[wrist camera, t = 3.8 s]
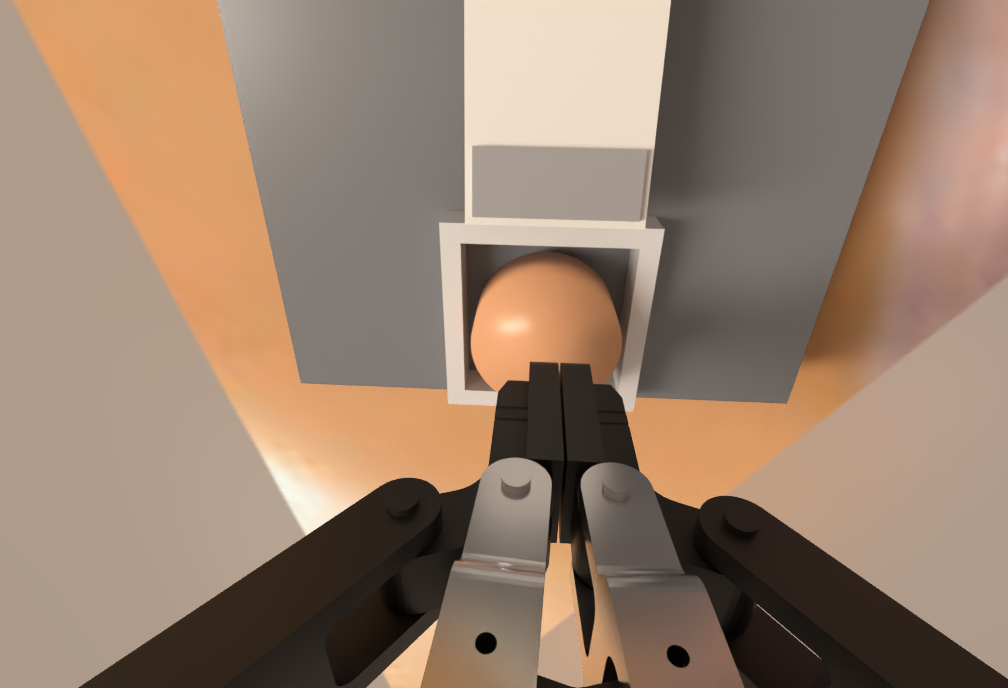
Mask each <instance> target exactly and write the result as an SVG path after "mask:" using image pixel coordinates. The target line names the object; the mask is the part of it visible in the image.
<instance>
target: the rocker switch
mask: <svg viewBox="0 0 1008 688" xmlns="http://www.w3.org/2000/svg"><path fill="white" fill-rule="evenodd" d="M670 6H671V0H464V105H465V224H470V225H505V226H540V227H574V228H609V229H644V230H645V226H646V217H647V208H648V199H649V191H650V182H651V173H652V164H653V155H654V147H655V138H656V129H657V120H658V111H659V103H660V94H661V85H662V76H663V67H664V58H665V50H666V41H667V32H668V23H669V14H670Z"/></svg>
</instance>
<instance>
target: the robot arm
mask: <svg viewBox="0 0 1008 688" xmlns="http://www.w3.org/2000/svg"><path fill="white" fill-rule="evenodd" d="M558 522H559V538H560V543H571V551H572V562H571V571H570V582H571V589H572V596H573V603H574V610H575V617H576V625H577V632H578V638H579V646H580V653H581V660H582V669H583V687H581V688H1008V679H1007V678H1005V677H1004V676H1003V675H1001V674H1000V673H998V672H997V671H995V670H994V669H993V668H991V667H990V666H988V665H987V664H985V663H984V662H982V661H981V660H979V659H978V658H977V657H975V656H974V655H972V654H971V653H970V652H968V651H967V650H965V649H964V648H962V647H961V646H959V645H958V644H957V643H955V642H954V641H952V640H951V639H949V638H948V637H947V636H945V635H944V634H942V633H941V632H939V631H938V630H936V629H935V628H934V627H932V626H931V625H929V624H928V623H926V622H925V621H924V620H922V619H920V618H919V617H918V616H916V615H915V614H913V613H912V612H910V611H909V610H908V609H906V608H905V607H903V606H902V605H900V604H899V603H897V602H896V601H895V600H893V599H892V598H890V597H889V596H887V595H886V594H885V593H883V592H882V591H880V590H879V589H877V588H876V587H875V586H873V585H872V584H870V583H869V582H867V581H866V580H865V579H863V578H862V577H860V576H859V575H857V574H856V573H854V572H853V571H852V570H850V569H849V568H847V567H846V566H844V565H843V564H842V563H840V562H839V561H837V560H836V559H834V558H833V557H832V556H830V555H828V554H827V553H826V552H824V551H823V550H821V549H820V548H819V547H817V546H816V545H814V544H813V543H811V542H810V541H809V540H807V539H806V538H804V537H803V536H801V535H800V534H799V533H797V532H796V531H794V530H793V529H791V528H790V527H788V526H787V525H786V524H784V523H783V522H781V521H780V520H778V519H777V518H775V517H774V516H772V515H771V514H770V513H768V512H767V511H765V510H764V509H763V508H761V507H759V506H758V505H756V504H754V503H752V502H750V501H748V500H745V499H742V498H738V497H733V496H718V497H714V498H711V499H709V500H707V501H706V502H705V503H704V504H703V505H702V506H701V508H700V509H697V508H694V507H691V506H688V505H684V504H681V503H678V502H675V501H672V500H669V499H667V498H665V497H663V496H662V495H660V494H658V493H657V492H655V491H654V489H653V487H652V485H651V483H650V481H649V480H648V479H647V478H646V477H645V476H644V475H643V474H642V473H641V472H640V471H639V467H638V462H637V458H636V454H635V450H634V445H633V441H632V437H631V433H630V428H629V427H628V420H627V416H626V414H625V407H624V403H623V399H622V397H621V396H620V394H619V393H618V392H617V391H616V390H615V389H614V388H613V387H612V386H611V385H609V384H593V379H592V373H591V367H590V364H582V363H560V370H559V364H558V363H555V362H532V361H530V366H529V381H515V380H508V381H507V382H506V383H505V384H504V385H503V387H502V388H501V389H500V390H499V391H498V396H497V404H496V412H495V420H494V428H493V436H492V444H491V452H490V460H489V465H488V468H487V469H486V470H485V471H484V472H483V474H482V477H481V478H480V479H479V480H478V481H477V482H475V483H474V484H472V485H470V486H468V487H466V488H463V489H460V490H456V491H451V492H446V493H441V494H439V492H438V491H437V489H436V488H435V487H434V486H433V485H432V484H430V483H428V482H427V481H424V480H421V479H417V478H401V479H396V480H393V481H390V482H387V483H385V484H384V485H382V486H380V487H379V488H377V489H376V490H374V491H373V492H371V493H370V494H368V495H367V496H365V497H364V498H362V499H361V500H359V501H358V502H356V503H355V504H353V505H352V506H350V507H349V508H347V509H346V510H344V511H343V512H341V513H340V514H338V515H337V516H335V517H334V518H332V519H331V520H329V521H328V522H326V523H325V524H323V525H322V526H320V527H319V528H317V529H316V530H314V531H313V532H311V533H310V534H308V535H307V536H305V537H304V538H302V539H301V540H300V541H298V542H296V543H295V544H293V545H292V546H290V547H289V548H287V549H286V550H284V551H283V552H281V553H280V554H278V555H277V556H275V557H274V558H272V559H271V560H269V561H268V562H266V563H265V564H263V565H262V566H260V567H259V568H257V569H256V570H254V571H253V572H251V573H250V574H248V575H247V576H245V577H244V578H242V579H241V580H239V581H238V582H236V583H235V584H233V585H232V586H230V587H229V588H227V589H226V590H224V591H223V592H221V593H220V594H218V595H217V596H215V597H214V598H212V599H211V600H209V601H208V602H206V603H205V604H203V605H202V606H200V607H199V608H197V609H196V610H194V611H193V612H191V613H190V614H188V615H187V616H185V617H184V618H182V619H181V620H179V621H178V622H176V623H175V624H173V625H172V626H170V627H169V628H167V629H166V630H164V631H163V632H161V633H160V634H158V635H157V636H155V637H154V638H152V639H151V640H149V641H148V642H146V643H145V644H143V645H142V646H140V647H139V648H137V649H136V650H134V651H133V652H131V653H130V654H128V655H127V656H125V657H124V658H122V659H121V660H119V661H118V662H116V663H115V664H113V665H112V666H110V667H109V668H107V669H106V670H104V671H103V672H101V673H100V674H98V675H97V676H95V677H94V678H92V679H91V680H89V681H88V682H86V683H85V684H83V685H82V686H80V687H79V688H366V687H367V686H368V685H369V684H370V683H371V682H372V681H373V680H375V678H377V677H378V675H380V674H381V673H382V672H383V671H384V670H385V669H386V668H387V667H388V666H389V665H390V664H391V663H392V662H393V661H394V660H395V659H396V658H397V657H399V656H400V655H401V654H402V653H403V652H404V651H405V650H406V649H407V648H408V647H409V646H410V645H411V644H412V643H413V642H414V641H415V640H416V639H417V638H418V637H419V636H420V635H421V634H423V633H424V632H425V631H426V630H427V629H428V628H429V627H430V626H431V625H432V624H433V623H434V622H435V621H436V620H437V619H438V622H437V626H436V630H435V634H434V637H433V641H432V645H431V649H430V653H429V657H428V661H427V664H426V668H425V672H424V676H423V680H422V684H421V688H575V687H571V686H567V685H565V684H562V683H559V682H556V681H553V680H550V679H547V678H545V677H542V676H539V675H537V673H538V672H537V671H538V660H539V647H540V634H541V620H542V607H543V594H544V581H545V572H546V570H547V568H548V565H549V555H550V543H557V532H558ZM757 604H758V605H759V606H760V607H762V608H763V609H764V610H765V611H766V612H767V613H769V614H770V615H771V616H772V617H773V618H775V619H776V620H777V621H778V622H779V623H780V624H782V625H783V626H784V627H785V628H786V629H787V630H789V631H790V632H791V633H792V634H793V635H795V636H796V637H797V638H798V639H799V640H800V641H802V642H803V643H804V644H805V645H807V646H808V647H809V648H810V649H811V650H813V652H815V653H816V654H817V655H818V656H819V657H820V658H821V659H820V658H818V657H817V656H816V655H815V654H813V652H811V651H810V650H809V649H808V648H807V647H805V646H804V645H803V644H802V643H801V642H799V641H798V640H797V639H796V638H795V637H794V636H793V635H791V634H790V633H789V632H788V631H786V630H785V629H784V628H783V627H782V626H781V625H780V624H778V623H777V622H776V621H775V620H774V619H772V618H771V617H770V616H769V615H768V614H767V613H765V612H764V611H763V610H762V609H761V608H760V607H758V606H757Z"/></svg>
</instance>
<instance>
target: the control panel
mask: <svg viewBox="0 0 1008 688" xmlns="http://www.w3.org/2000/svg"><path fill="white" fill-rule="evenodd" d="M929 1H930V0H671V6H670V14H669V23H668V32H667V41H666V50H665V58H664V67H663V76H662V85H661V94H660V103H659V111H658V120H657V129H656V138H655V147H654V155H653V164H652V173H651V182H650V191H649V199H648V208H647V217H646V226H645V230H644V229H609V228H574V227H540V226H505V225H470V224H465V105H464V0H217V4H218V8H219V13H220V17H221V22H222V26H223V31H224V35H225V40H226V45H227V49H228V54H229V58H230V63H231V67H232V72H233V76H234V81H235V85H236V90H237V94H238V99H239V104H240V108H241V113H242V117H243V122H244V126H245V131H246V135H247V140H248V144H249V149H250V153H251V158H252V162H253V167H254V172H255V176H256V181H257V185H258V190H259V194H260V199H261V203H262V208H263V212H264V217H265V221H266V226H267V230H268V235H269V240H270V244H271V249H272V253H273V258H274V262H275V267H276V271H277V276H278V280H279V285H280V289H281V294H282V299H283V303H284V308H285V312H286V317H287V321H288V326H289V330H290V335H291V339H292V344H293V348H294V353H295V357H296V362H297V367H298V371H299V376H300V380H301V383H310V384H333V385H357V386H381V387H405V388H429V389H447V391H448V404H466V405H489V406H496V404H497V396H498V393H497V392H496V391H495V390H494V389H492V388H491V387H490V386H489V385H488V384H487V383H486V382H485V380H484V379H483V378H482V376H481V375H480V373H479V372H478V370H477V368H476V365H475V363H474V361H473V357H472V353H471V334H472V329H473V324H474V320H475V316H476V311H477V307H478V303H479V298H480V296H481V293H482V290H483V288H484V286H485V285H486V283H487V281H488V280H489V279H490V277H491V276H492V275H493V274H494V273H495V272H496V271H497V270H498V269H499V268H501V267H502V266H503V265H504V264H506V263H508V262H509V261H511V260H513V259H515V258H518V257H520V256H523V255H526V254H530V253H536V252H556V253H562V254H566V255H569V256H572V257H575V258H577V259H579V260H581V261H583V262H584V263H586V264H587V265H589V266H590V267H591V268H592V269H594V270H595V271H596V272H597V273H598V274H599V276H600V277H601V278H602V279H603V281H604V283H605V284H606V286H607V288H608V290H609V293H610V295H611V299H612V302H613V305H614V308H615V312H616V315H617V318H618V321H619V325H620V329H621V334H622V350H621V354H620V359H619V361H618V364H617V366H616V368H615V370H614V372H613V374H612V375H611V376H610V378H609V379H608V380H607V382H606V383H605V384H609V385H611V386H612V387H613V388H614V389H615V390H616V391H617V392H618V393H619V394H620V396H621V397H622V399H623V403H624V407H625V411H628V412H633V410H634V405H635V399H636V397H643V398H667V399H691V400H714V401H738V402H762V403H786V404H787V402H788V399H789V396H790V393H791V391H792V388H793V385H794V382H795V379H796V376H797V374H798V371H799V368H800V365H801V362H802V359H803V357H804V354H805V351H806V348H807V345H808V343H809V340H810V337H811V334H812V331H813V328H814V326H815V323H816V320H817V317H818V314H819V311H820V309H821V306H822V303H823V300H824V297H825V295H826V292H827V289H828V286H829V283H830V280H831V278H832V275H833V272H834V269H835V266H836V263H837V261H838V258H839V255H840V252H841V249H842V247H843V244H844V241H845V238H846V235H847V232H848V230H849V227H850V224H851V221H852V218H853V216H854V213H855V210H856V207H857V204H858V201H859V199H860V196H861V193H862V190H863V187H864V184H865V182H866V179H867V176H868V173H869V170H870V168H871V165H872V162H873V159H874V156H875V153H876V151H877V148H878V145H879V142H880V139H881V136H882V134H883V131H884V128H885V125H886V122H887V120H888V117H889V114H890V111H891V108H892V105H893V103H894V100H895V97H896V94H897V91H898V88H899V86H900V83H901V80H902V77H903V74H904V72H905V69H906V66H907V63H908V60H909V57H910V55H911V52H912V49H913V46H914V43H915V40H916V38H917V35H918V32H919V29H920V26H921V24H922V21H923V18H924V15H925V12H926V9H927V7H928V4H929Z"/></svg>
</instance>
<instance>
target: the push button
mask: <svg viewBox="0 0 1008 688" xmlns="http://www.w3.org/2000/svg"><path fill="white" fill-rule="evenodd" d="M621 350H622V334H621V329H620V325H619V321H618V318H617V315H616V312H615V308H614V305H613V302H612V299H611V295H610V293H609V290H608V288H607V286H606V284H605V283H604V281H603V279H602V278H601V277H600V276H599V274H598V273H597V272H596V271H595V270H594V269H592V268H591V267H590V266H589V265H587V264H586V263H584V262H583V261H581V260H579V259H577V258H575V257H572V256H569V255H566V254H562V253H556V252H536V253H530V254H526V255H523V256H520V257H518V258H515V259H513V260H511V261H509V262H508V263H506V264H504V265H503V266H502V267H501V268H499V269H498V270H497V271H496V272H495V273H494V274H493V275H492V276H491V277H490V279H489V280H488V281H487V283H486V285H485V286H484V288H483V290H482V293H481V296H480V298H479V303H478V307H477V311H476V316H475V320H474V324H473V329H472V334H471V353H472V357H473V361H474V363H475V365H476V368H477V370H478V372H479V373H480V375H481V376H482V378H483V379H484V380H485V382H486V383H487V384H488V385H489V386H490V387H491V388H492V389H494V390H495V391H496V392H497V393H498V391H499V390H500V389H501V388H502V387H503V385H504V384H505V383H506V382H507V381H508V380H515V381H529V366H530V361H532V362H555V363H558V364H559V370H560V363H582V364H590V367H591V373H592V379H593V384H605V383H606V382H607V380H608V379H609V378H610V376H611V375H612V374H613V372H614V370H615V368H616V366H617V364H618V361H619V359H620V354H621Z"/></svg>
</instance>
